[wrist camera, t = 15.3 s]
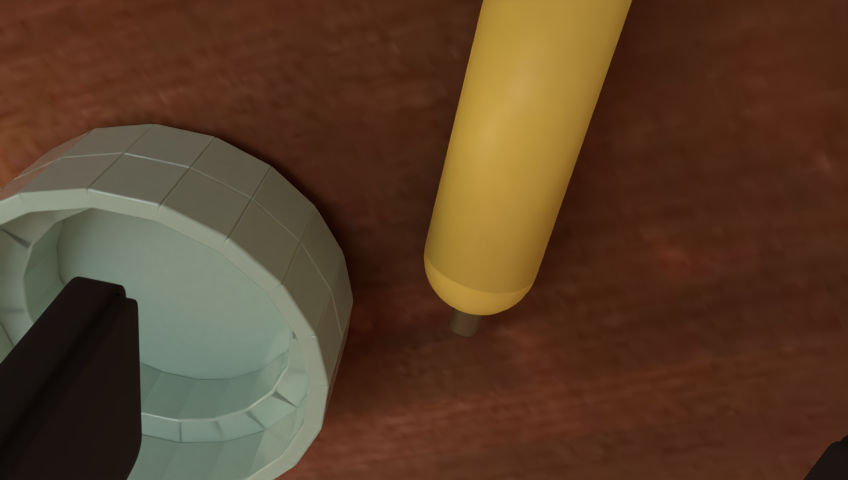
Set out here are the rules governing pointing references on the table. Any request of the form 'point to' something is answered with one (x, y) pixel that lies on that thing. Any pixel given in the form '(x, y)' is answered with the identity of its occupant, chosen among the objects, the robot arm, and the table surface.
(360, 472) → the table surface
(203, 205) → the bowl
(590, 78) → the yellow gas cartridge
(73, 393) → the robot arm
